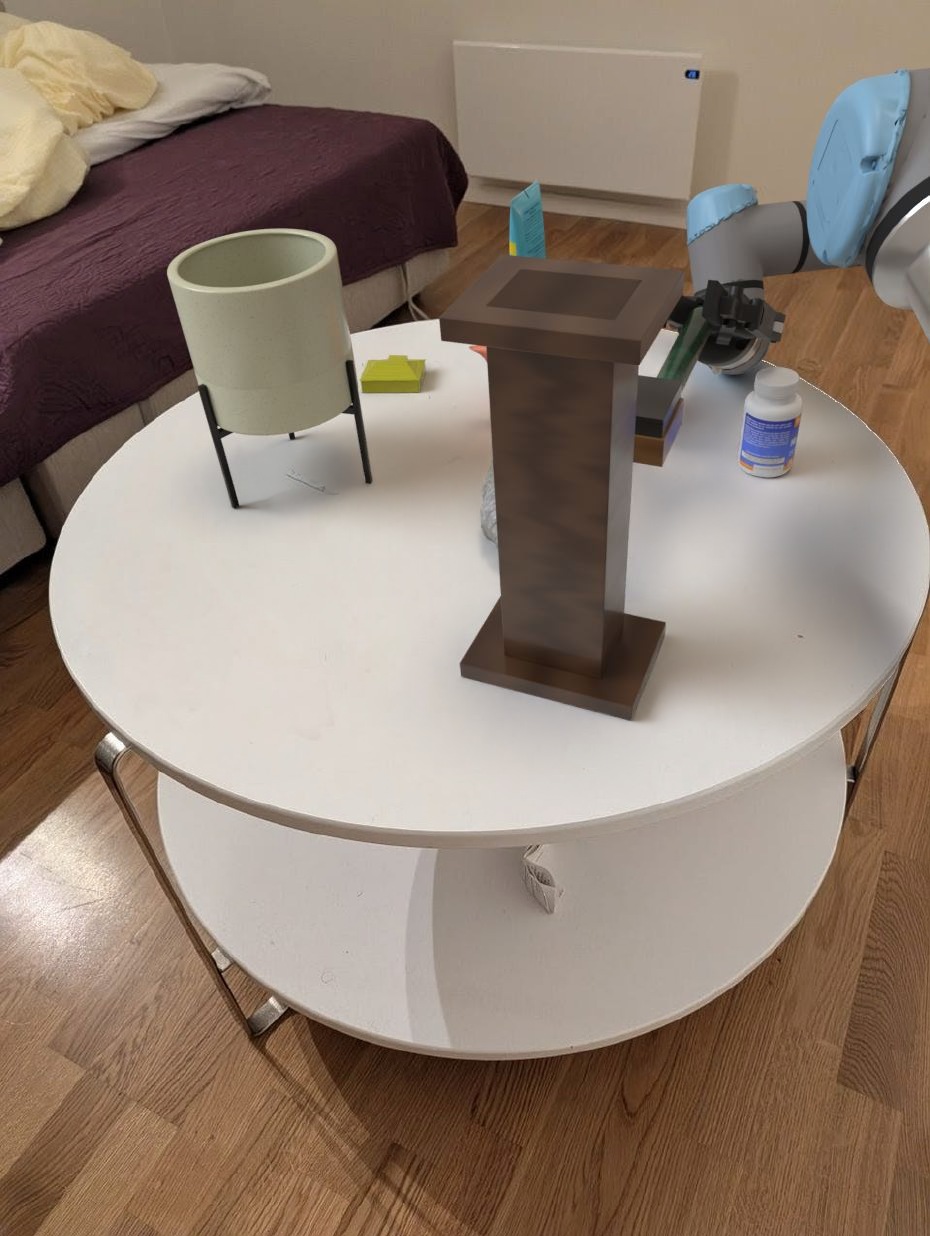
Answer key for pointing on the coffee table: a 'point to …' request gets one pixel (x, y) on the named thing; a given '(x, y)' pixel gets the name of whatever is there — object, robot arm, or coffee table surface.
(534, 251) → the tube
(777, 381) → the pill bottle
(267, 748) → the coffee table surface
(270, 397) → the planter
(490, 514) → the seashell
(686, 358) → the brush
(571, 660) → the stand
